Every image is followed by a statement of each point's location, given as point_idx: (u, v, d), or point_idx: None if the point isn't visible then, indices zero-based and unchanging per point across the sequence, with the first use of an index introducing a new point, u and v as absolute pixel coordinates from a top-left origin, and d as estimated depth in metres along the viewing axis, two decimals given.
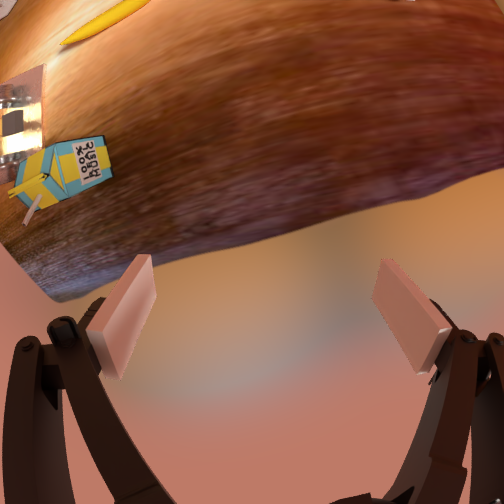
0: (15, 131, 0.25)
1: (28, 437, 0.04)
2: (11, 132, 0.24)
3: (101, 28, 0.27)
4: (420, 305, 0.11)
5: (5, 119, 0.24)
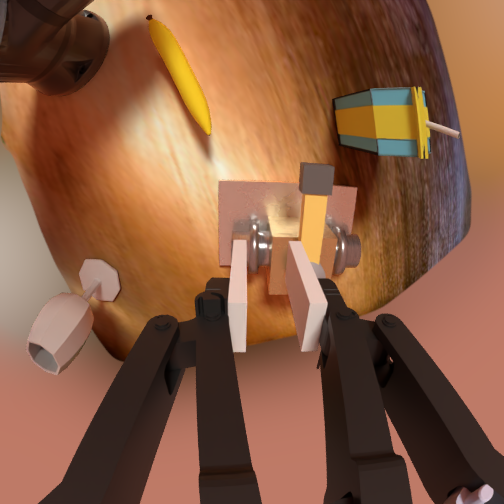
0: (332, 167, 0.27)
1: (129, 419, 0.06)
2: (332, 174, 0.28)
3: (201, 89, 0.32)
4: (302, 281, 0.13)
5: (309, 186, 0.28)
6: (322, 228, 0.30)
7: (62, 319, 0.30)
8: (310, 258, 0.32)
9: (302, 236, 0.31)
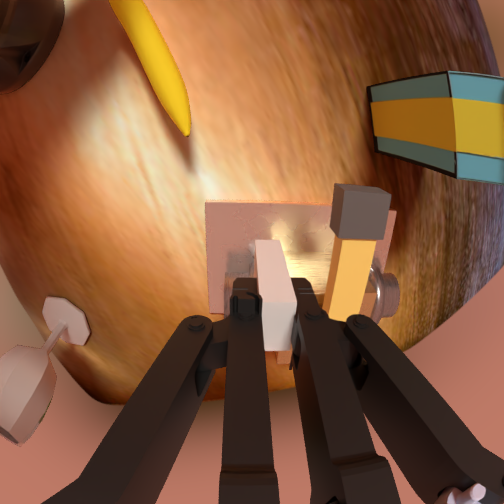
0: (388, 194, 0.16)
1: (155, 420, 0.06)
2: (386, 206, 0.16)
3: (177, 69, 0.20)
4: (274, 280, 0.13)
5: (351, 225, 0.17)
6: (363, 288, 0.19)
7: (15, 387, 0.19)
8: None
9: (332, 301, 0.19)
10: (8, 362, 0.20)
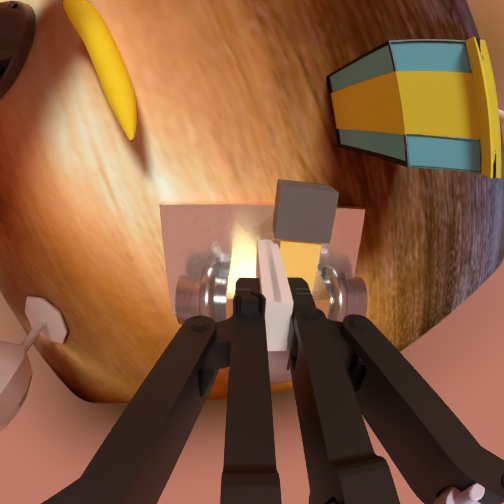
0: (335, 192, 0.15)
1: (158, 420, 0.06)
2: (333, 205, 0.15)
3: (127, 75, 0.20)
4: (270, 280, 0.13)
5: (290, 225, 0.16)
6: None
7: None
8: None
9: None
10: None
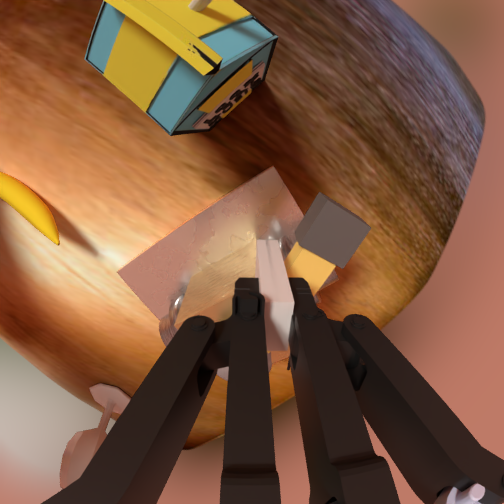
0: (367, 225, 0.16)
1: (158, 420, 0.06)
2: (361, 237, 0.16)
3: (34, 199, 0.24)
4: (271, 280, 0.13)
5: (317, 239, 0.16)
6: None
7: (77, 461, 0.25)
8: None
9: None
10: (70, 446, 0.27)
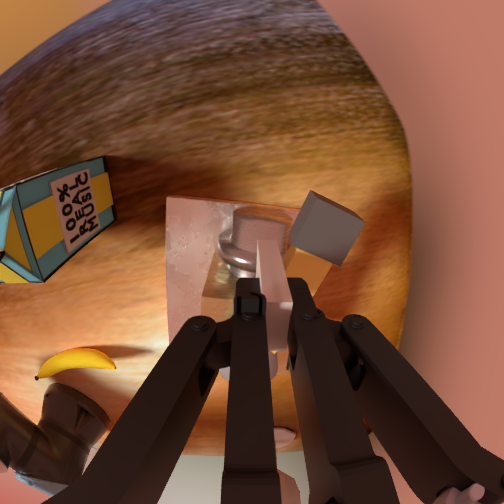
0: (362, 220, 0.15)
1: (159, 420, 0.06)
2: (356, 232, 0.15)
3: (85, 352, 0.33)
4: (270, 280, 0.13)
5: (311, 238, 0.16)
6: None
7: None
8: None
9: None
10: None
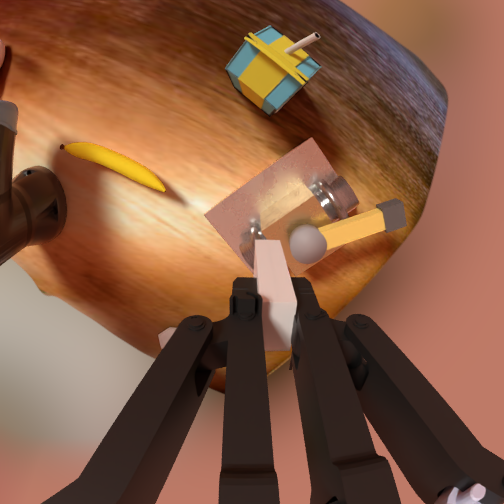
0: (405, 224, 0.32)
1: (156, 420, 0.06)
2: (401, 226, 0.32)
3: (137, 163, 0.39)
4: (274, 280, 0.13)
5: (388, 213, 0.32)
6: (358, 237, 0.33)
7: None
8: (329, 240, 0.33)
9: (347, 224, 0.32)
10: None
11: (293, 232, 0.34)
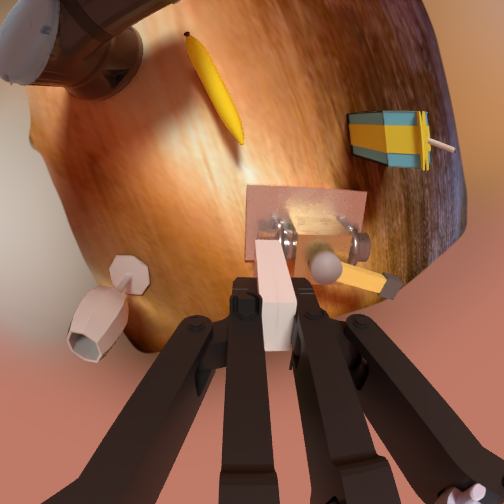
0: None
1: (155, 420, 0.06)
2: (390, 297, 0.40)
3: (233, 103, 0.37)
4: (274, 280, 0.13)
5: (389, 283, 0.39)
6: (360, 286, 0.39)
7: (103, 310, 0.35)
8: (342, 275, 0.39)
9: (361, 272, 0.38)
10: (95, 295, 0.37)
11: (322, 252, 0.38)
